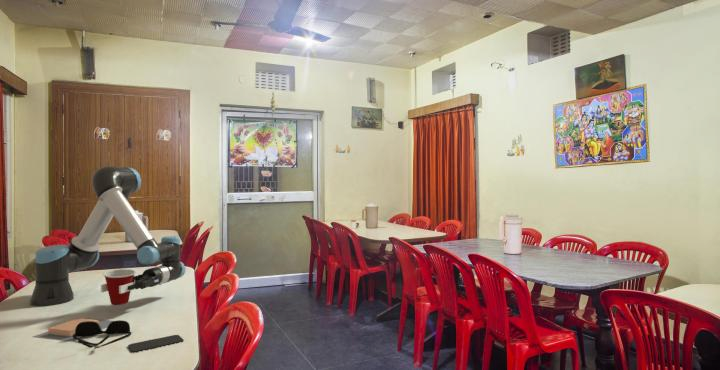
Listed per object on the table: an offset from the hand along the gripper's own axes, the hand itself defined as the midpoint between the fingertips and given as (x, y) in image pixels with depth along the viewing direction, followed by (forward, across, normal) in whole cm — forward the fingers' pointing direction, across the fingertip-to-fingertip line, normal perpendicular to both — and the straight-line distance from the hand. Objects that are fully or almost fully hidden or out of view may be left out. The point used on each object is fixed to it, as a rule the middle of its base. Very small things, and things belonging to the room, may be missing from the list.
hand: (110, 289), depth 159 cm
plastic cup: (-5, 0, -7) cm, 8 cm away
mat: (+13, 0, -11) cm, 17 cm away
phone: (+16, -34, -12) cm, 39 cm away
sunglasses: (+21, -16, -11) cm, 29 cm away
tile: (+9, 0, -9) cm, 13 cm away
